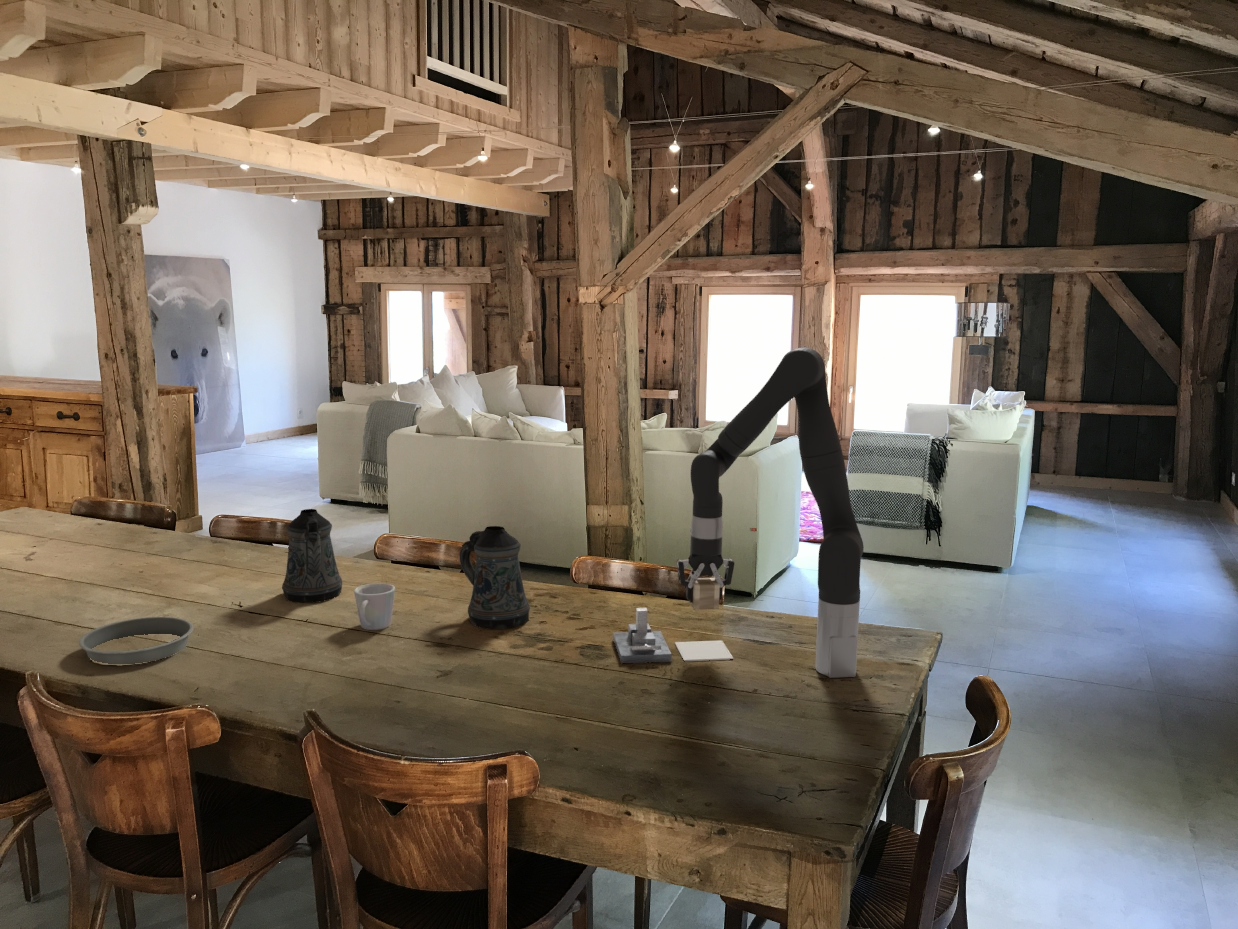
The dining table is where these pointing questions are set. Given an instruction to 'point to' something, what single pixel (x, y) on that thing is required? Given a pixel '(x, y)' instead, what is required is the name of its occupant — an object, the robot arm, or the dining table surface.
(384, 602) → the mug
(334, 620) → the dining table surface
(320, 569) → the dark grey patterned jug
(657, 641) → the vise
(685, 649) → the mat
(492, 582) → the beer stein
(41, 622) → the dining table surface
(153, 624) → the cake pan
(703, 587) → the sleeve
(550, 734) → the dining table surface
